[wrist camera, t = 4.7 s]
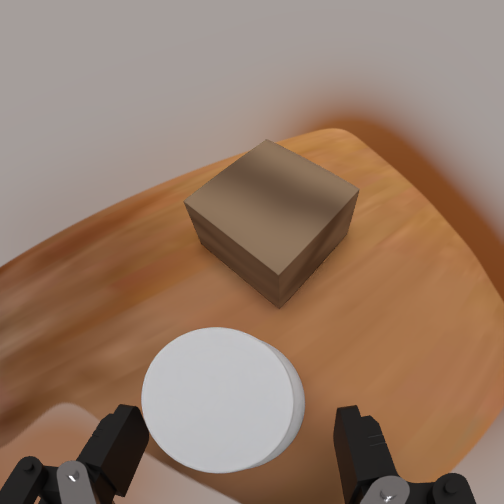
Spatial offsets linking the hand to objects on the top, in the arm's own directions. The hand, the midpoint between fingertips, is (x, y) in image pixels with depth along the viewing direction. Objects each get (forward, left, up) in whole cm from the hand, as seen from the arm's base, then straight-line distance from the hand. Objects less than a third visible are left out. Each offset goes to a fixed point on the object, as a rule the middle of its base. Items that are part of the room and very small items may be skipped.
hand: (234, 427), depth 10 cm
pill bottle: (+1, +1, -7) cm, 7 cm away
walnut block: (+11, +8, -7) cm, 15 cm away
